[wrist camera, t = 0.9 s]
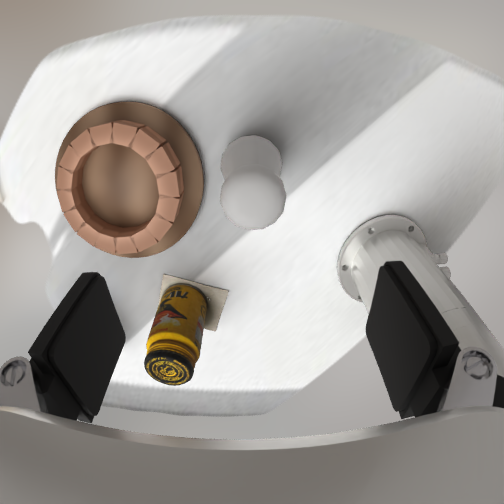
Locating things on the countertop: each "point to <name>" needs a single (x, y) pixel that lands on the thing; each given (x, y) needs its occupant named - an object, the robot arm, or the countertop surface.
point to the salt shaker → (252, 183)
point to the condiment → (181, 328)
